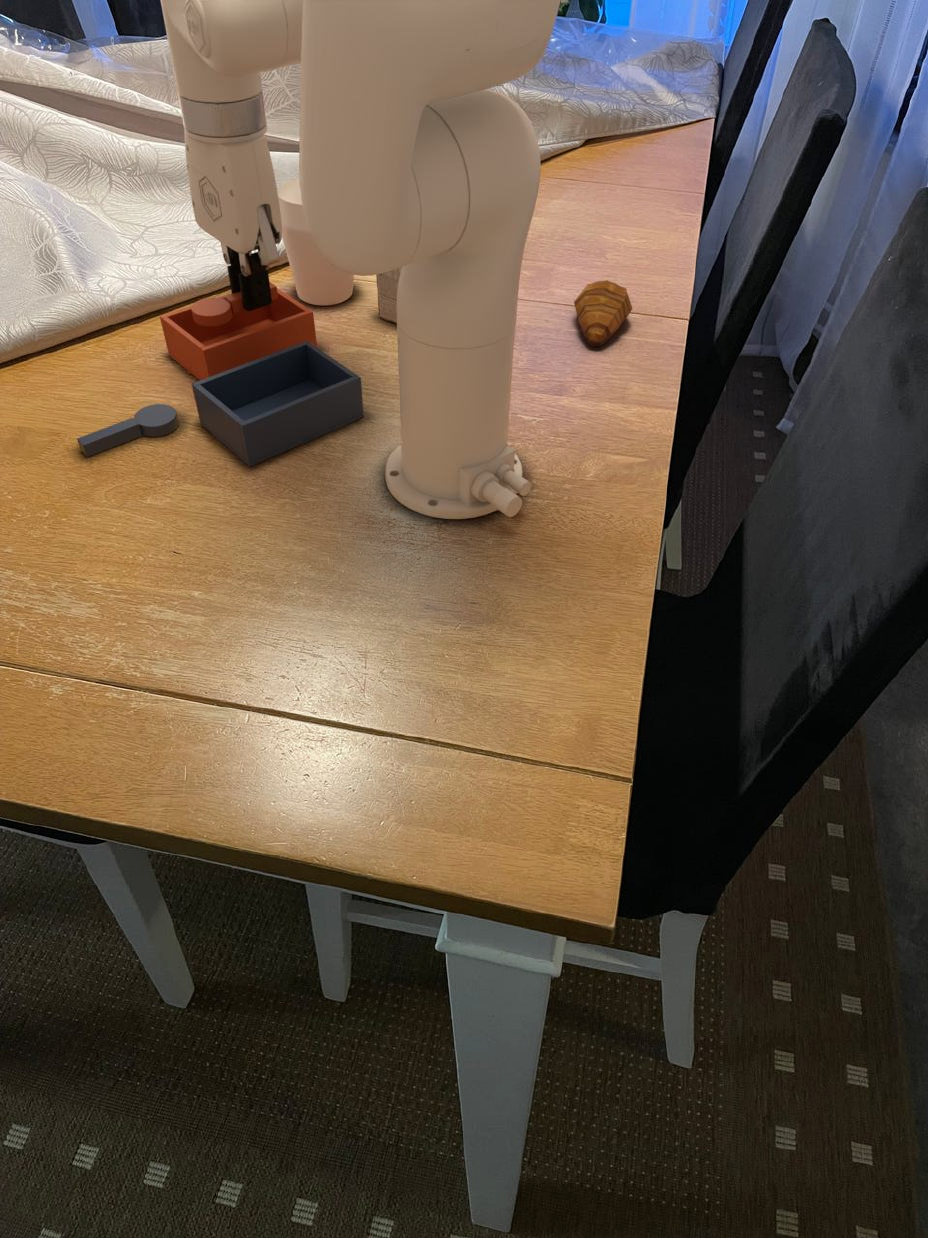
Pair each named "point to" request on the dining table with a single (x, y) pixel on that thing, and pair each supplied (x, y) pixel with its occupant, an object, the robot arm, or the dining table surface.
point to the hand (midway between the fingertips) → (252, 302)
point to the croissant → (602, 310)
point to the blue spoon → (132, 429)
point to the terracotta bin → (237, 336)
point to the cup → (308, 254)
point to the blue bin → (278, 402)
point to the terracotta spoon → (221, 308)
